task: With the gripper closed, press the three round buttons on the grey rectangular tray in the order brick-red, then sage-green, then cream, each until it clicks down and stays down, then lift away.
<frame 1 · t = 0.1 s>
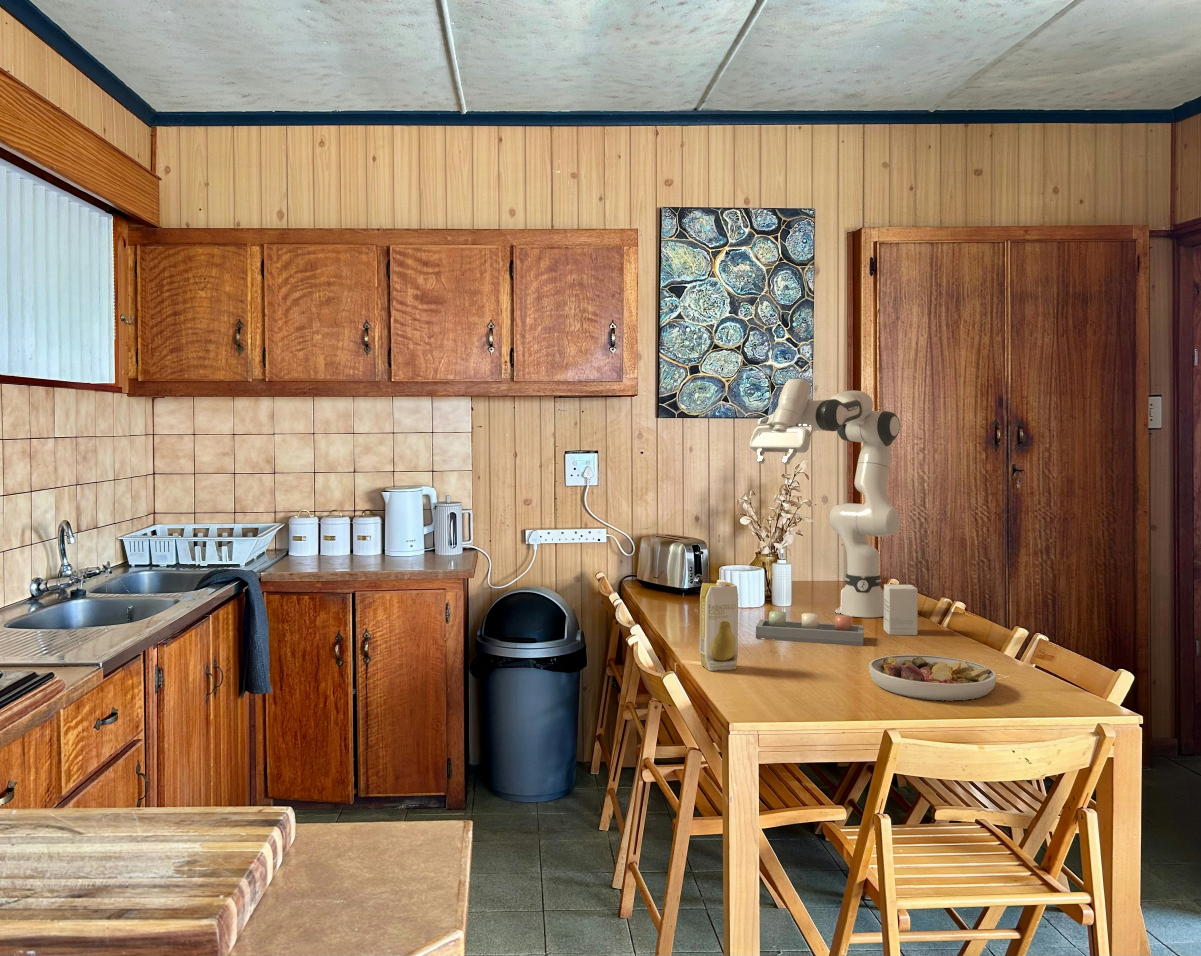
hand: (772, 463, 289), 54 cm above the table, tool tilted 30°, fingers open, 8 cm apart
supplement box: (899, 632, 301), on the table
grey rectangular tray: (809, 638, 291), on the table
juice carton: (718, 668, 253), on the table
brick button: (843, 622, 288), point 5 cm above the table, slide at 0.0 cm
bowl: (930, 688, 235), on the table
sage button: (777, 618, 294), point 5 cm above the table, slide at 0.0 cm
cream button: (810, 620, 291), point 5 cm above the table, slide at 0.0 cm
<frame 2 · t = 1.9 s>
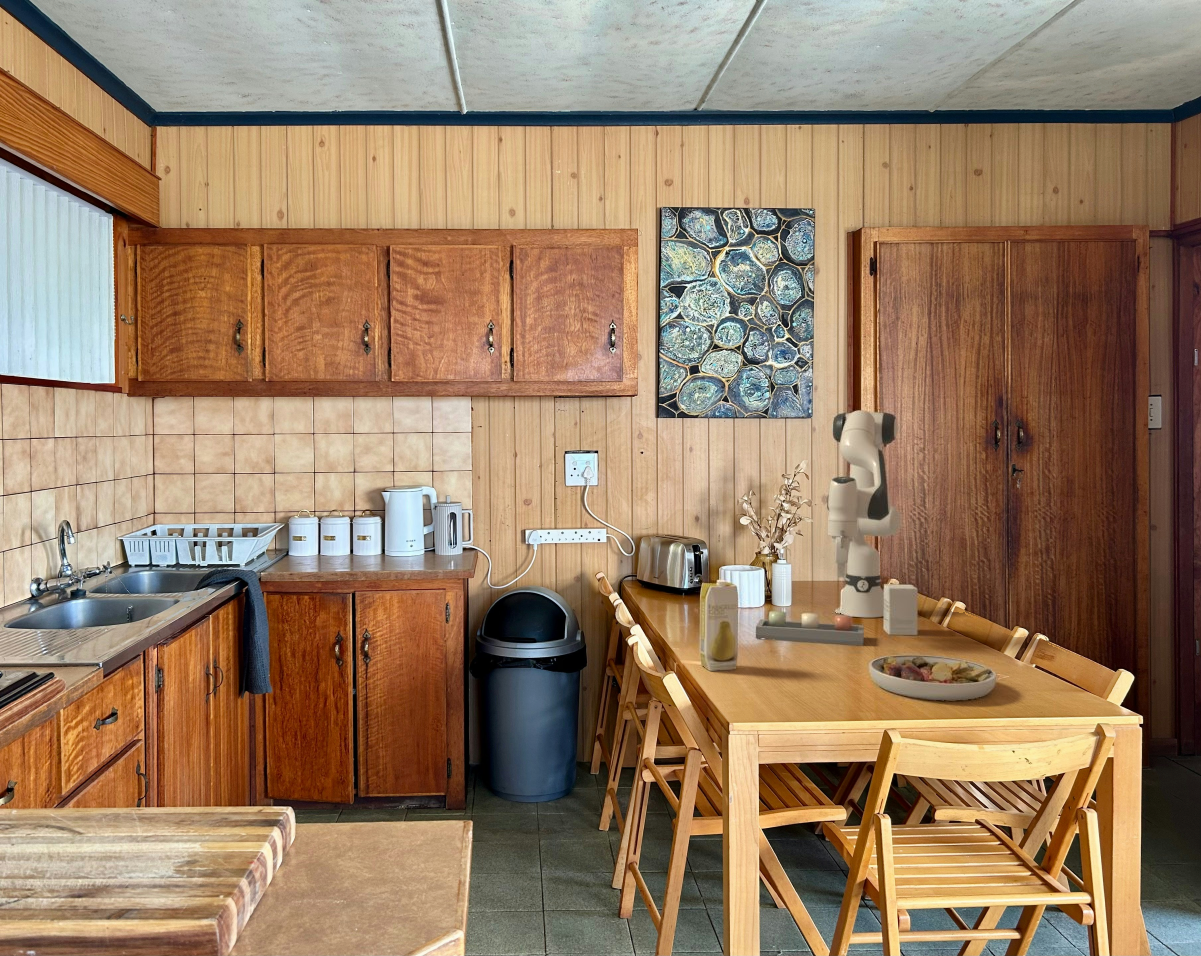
hand: (841, 575, 287), 20 cm above the table, tool pointing down, fingers open, 8 cm apart
nothing on the table moved.
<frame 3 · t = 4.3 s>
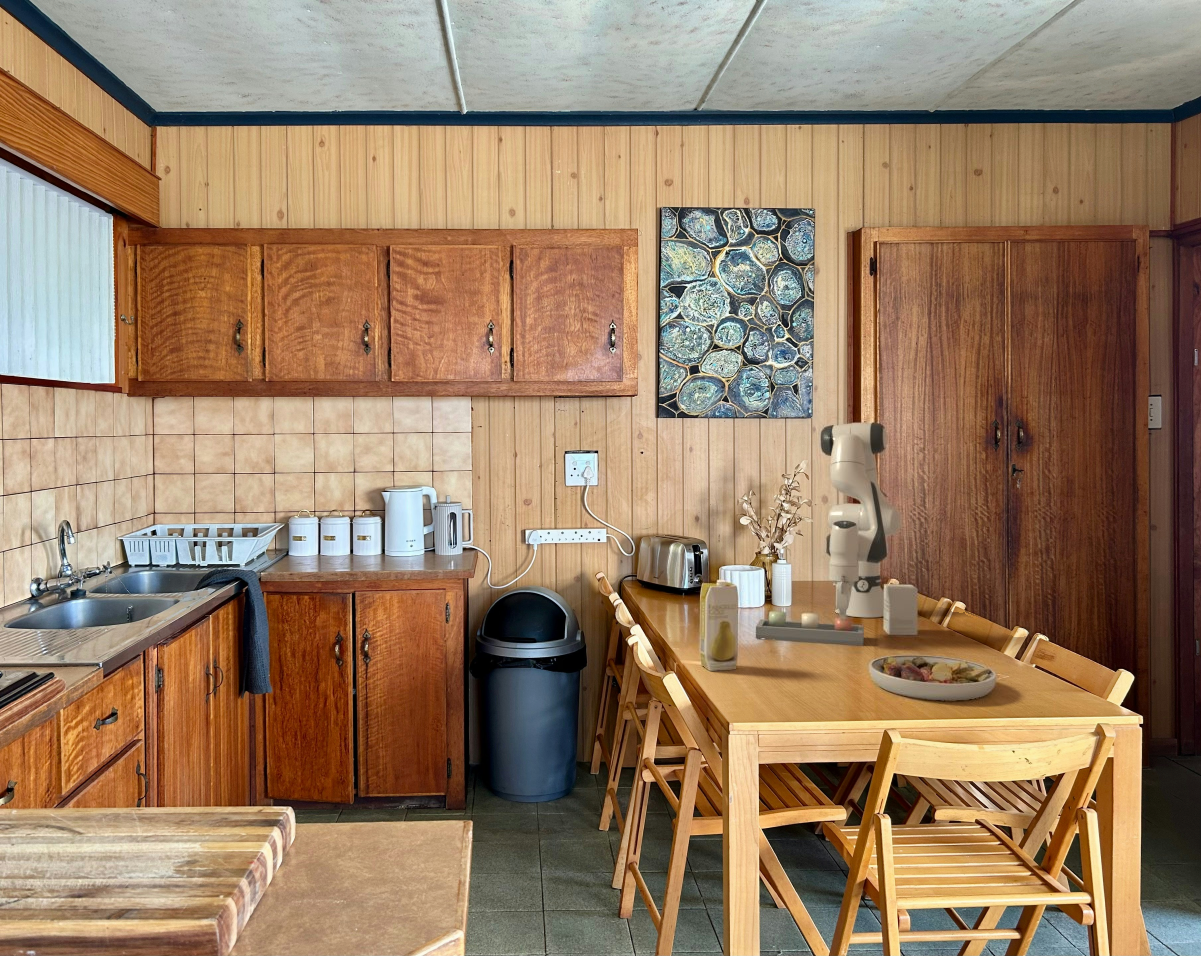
hand: (842, 619, 288), 7 cm above the table, tool pointing down, fingers closed, pressing on brick button
brick button: (843, 625, 288), point 5 cm above the table, slide at 0.8 cm, touching gripper
everything else where it was.
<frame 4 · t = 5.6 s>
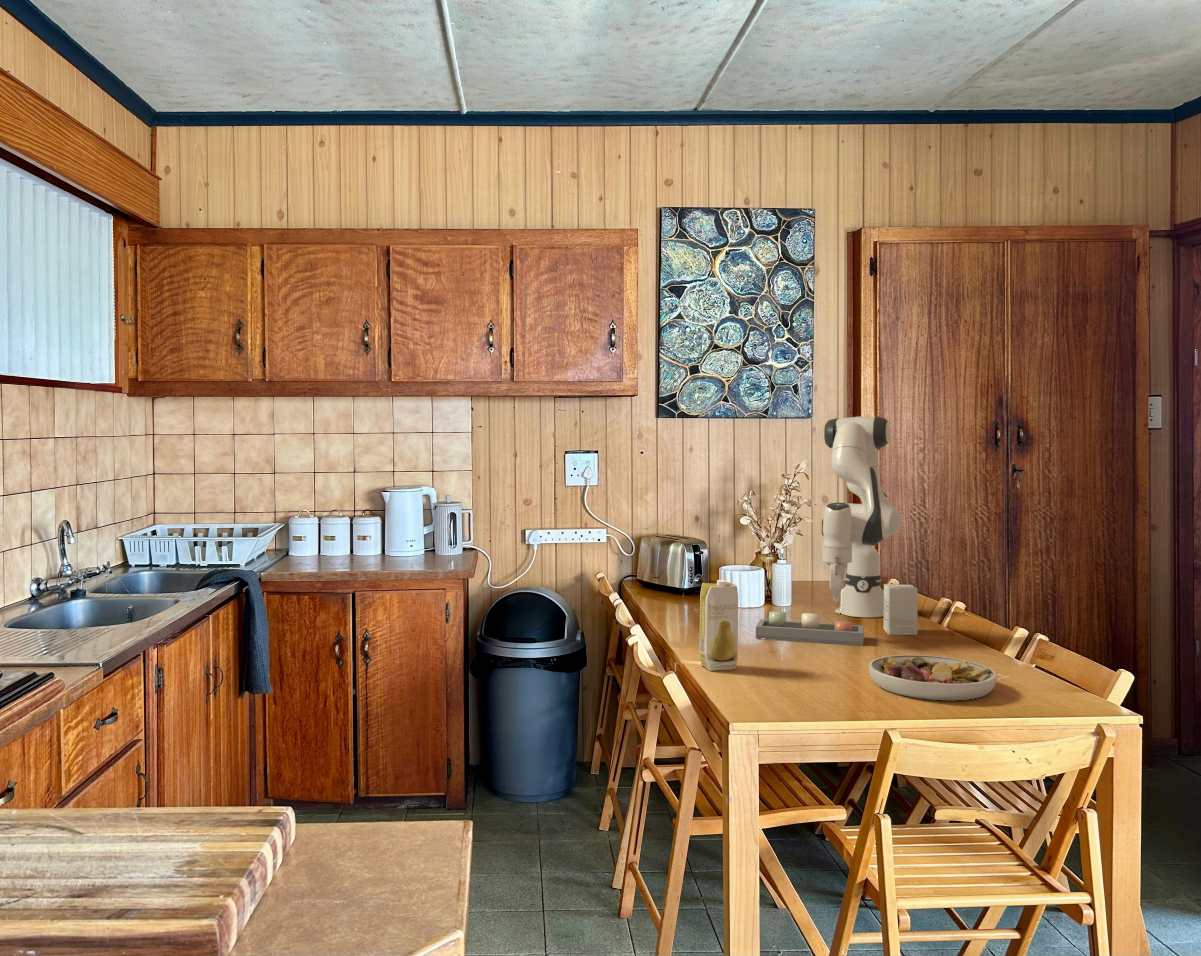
hand: (836, 600, 288), 12 cm above the table, tool pointing down, fingers closed
brick button: (843, 628, 288), point 4 cm above the table, slide at 1.8 cm
everything else where it was.
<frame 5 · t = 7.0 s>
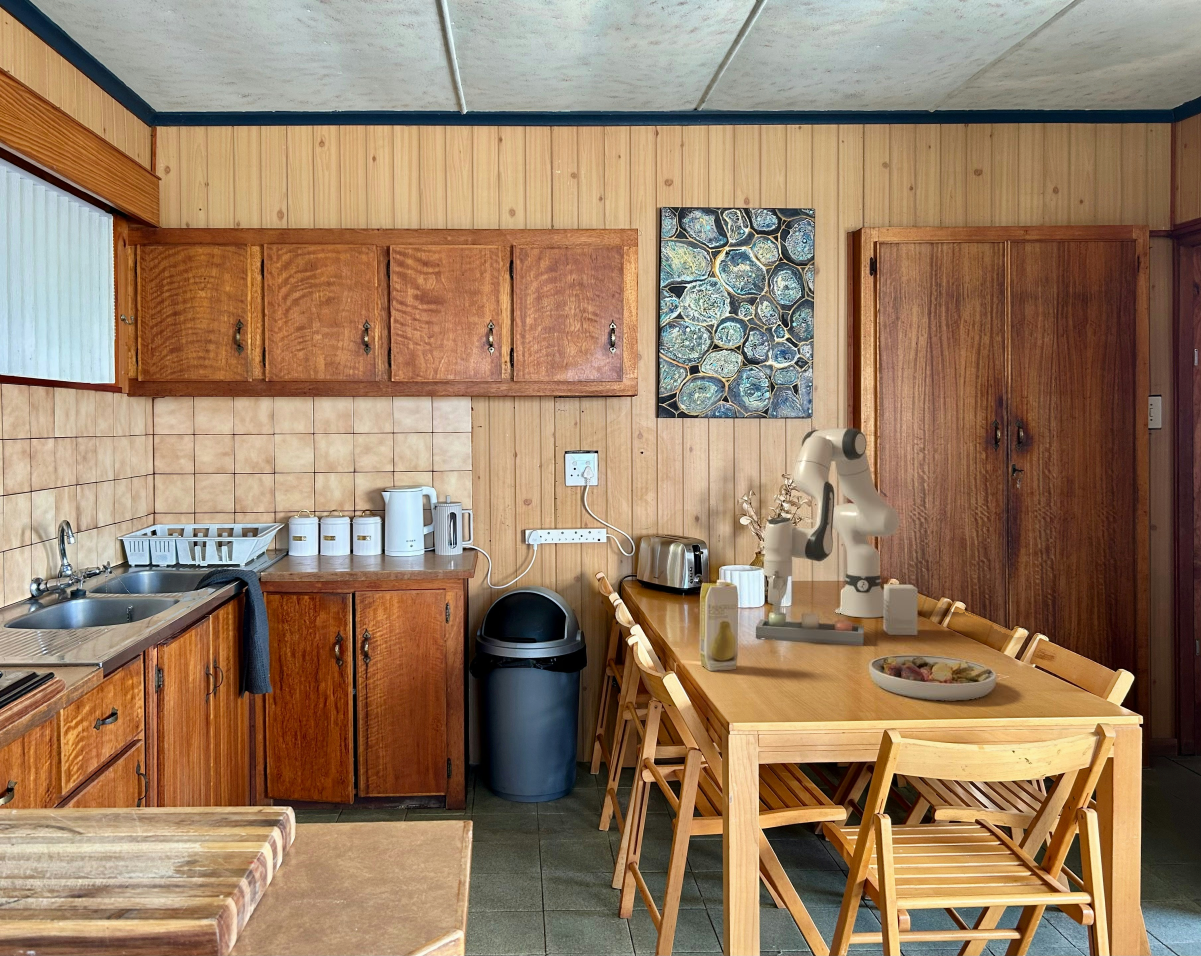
hand: (776, 613, 293), 7 cm above the table, tool pointing down, fingers closed, pressing on sage button
sage button: (777, 619, 294), point 5 cm above the table, slide at 0.3 cm, touching gripper
everything else where it was.
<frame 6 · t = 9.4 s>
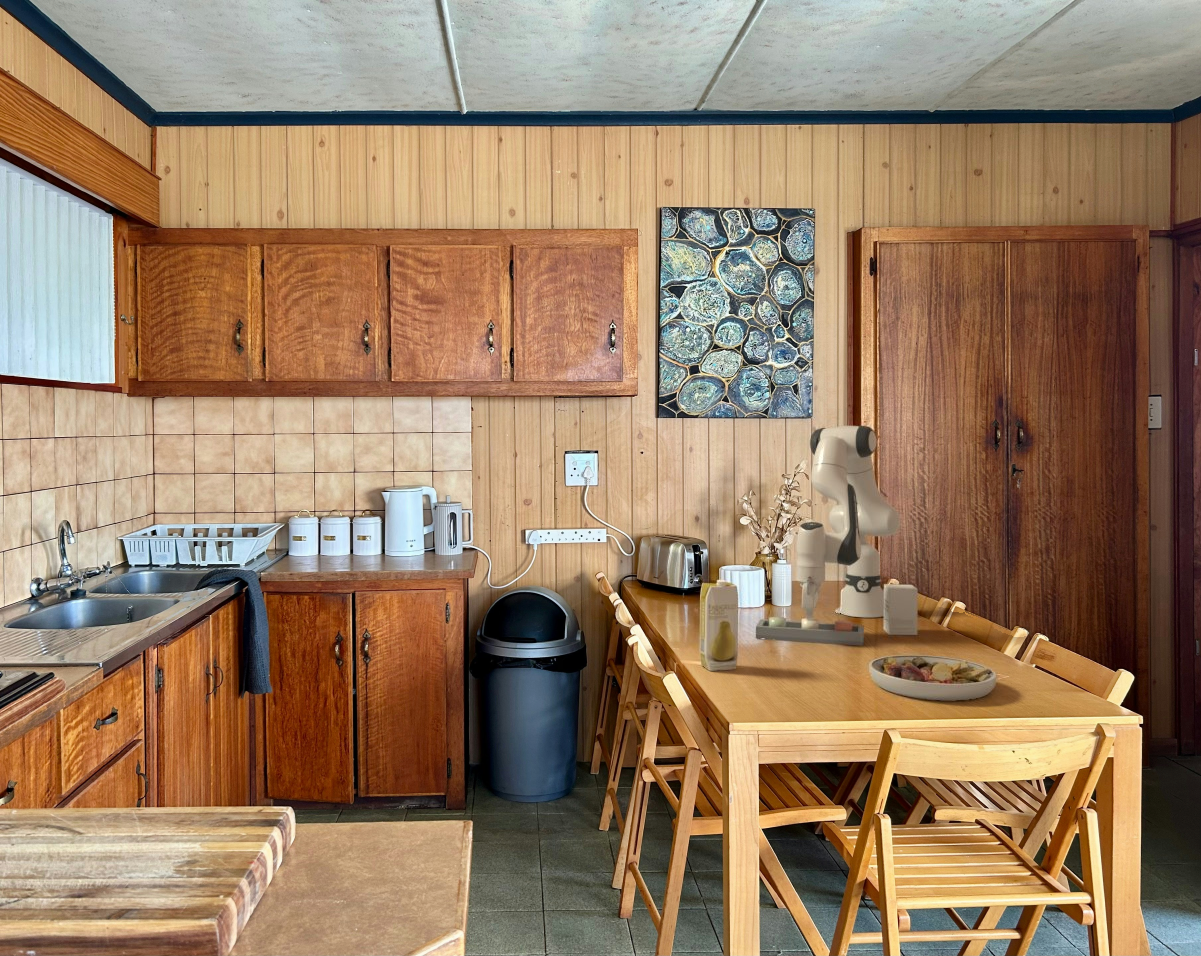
hand: (809, 619, 291), 6 cm above the table, tool pointing down, fingers closed, pressing on cream button
sage button: (777, 624, 294), point 4 cm above the table, slide at 1.8 cm
cream button: (810, 626, 291), point 4 cm above the table, slide at 1.6 cm, touching gripper
everything else where it was.
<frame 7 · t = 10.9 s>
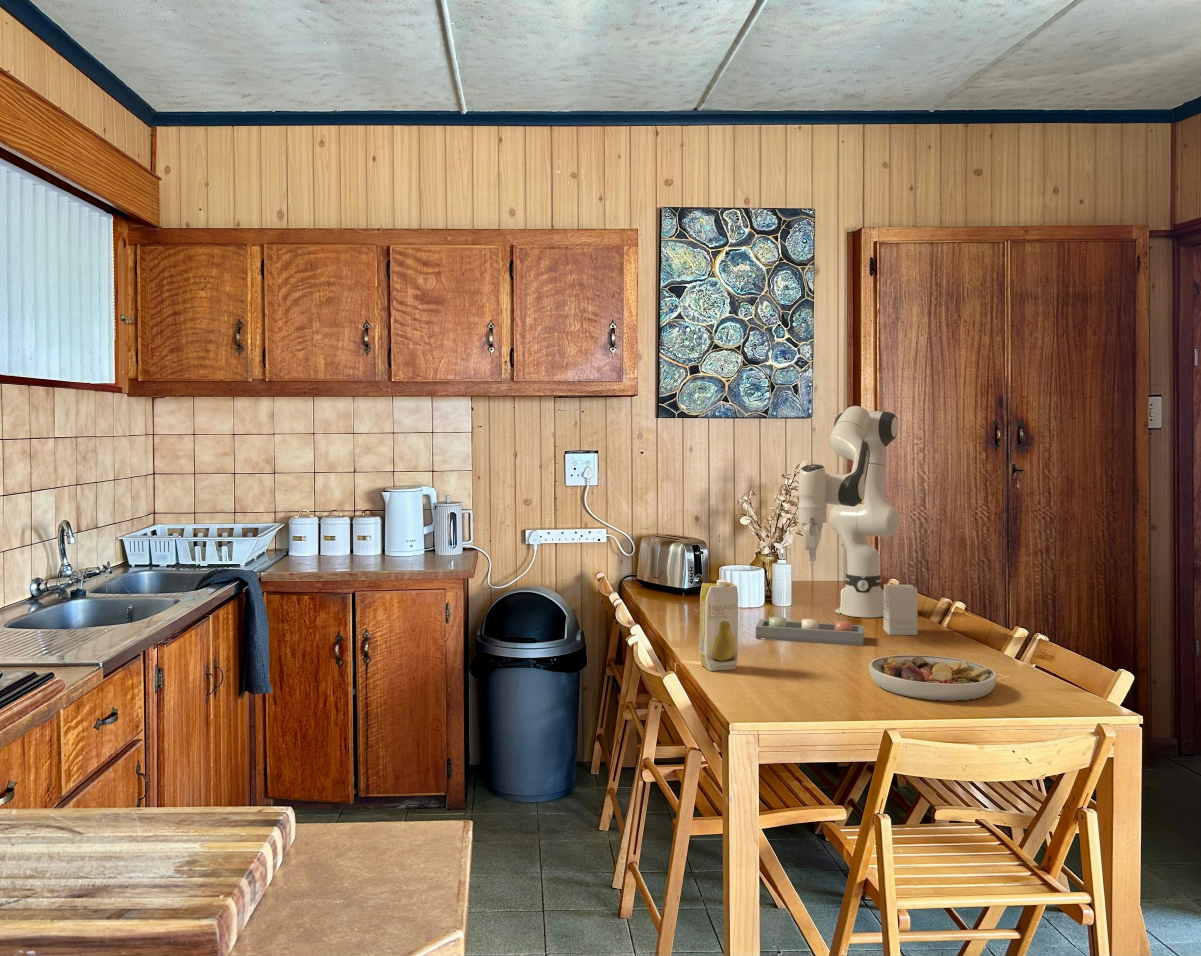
hand: (812, 560, 295), 24 cm above the table, tool pointing down, fingers closed
cream button: (810, 626, 291), point 4 cm above the table, slide at 1.8 cm
everything else where it was.
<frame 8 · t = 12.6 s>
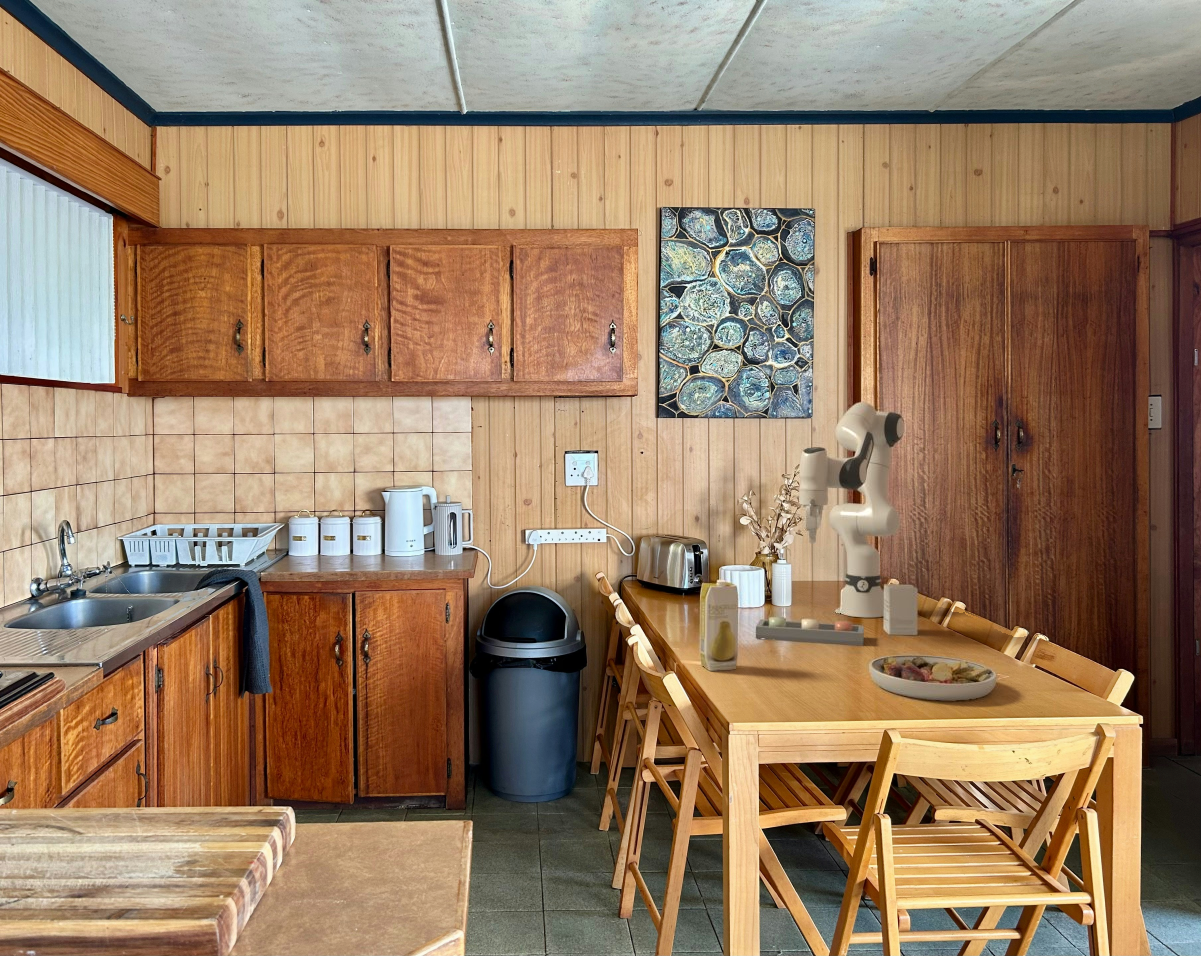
hand: (812, 542, 296), 29 cm above the table, tool pointing down, fingers closed
nothing on the table moved.
at the end: brick button slide at 1.8 cm; sage button slide at 1.8 cm; cream button slide at 1.8 cm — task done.
